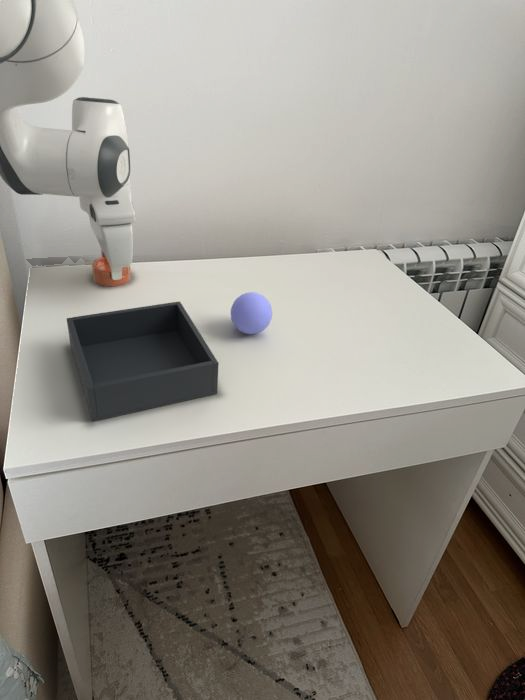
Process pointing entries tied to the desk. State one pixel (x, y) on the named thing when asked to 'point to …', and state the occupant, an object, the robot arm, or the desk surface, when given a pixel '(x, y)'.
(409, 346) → the desk surface
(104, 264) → the orange short cylinder
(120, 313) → the tub
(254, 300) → the sphere
